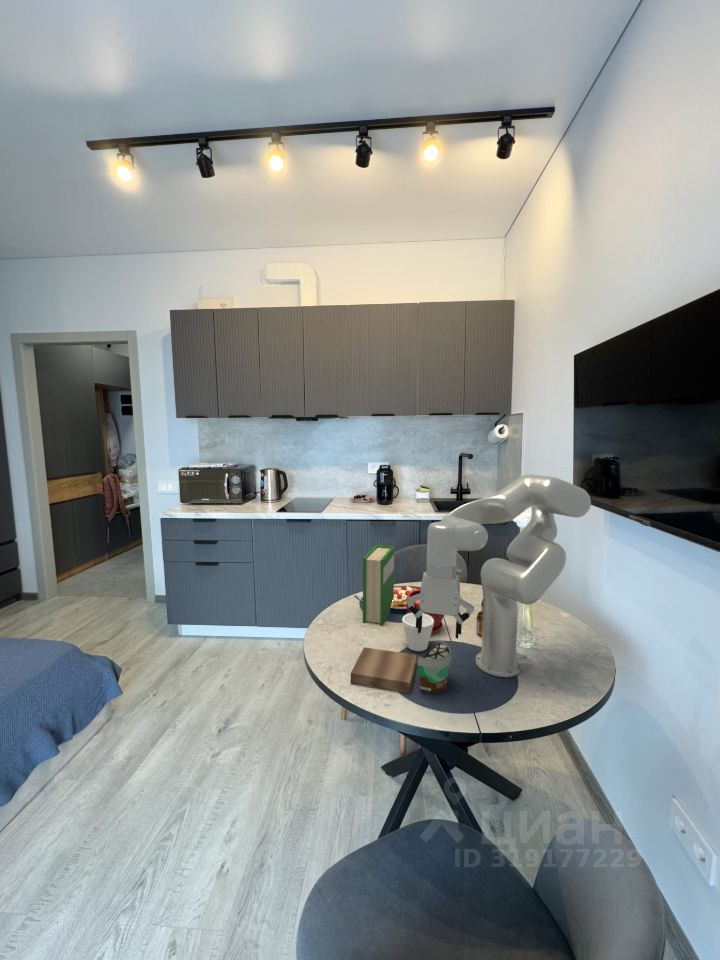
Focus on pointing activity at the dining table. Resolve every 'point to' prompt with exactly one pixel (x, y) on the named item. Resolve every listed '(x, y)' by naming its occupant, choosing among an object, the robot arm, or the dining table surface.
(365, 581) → the hardback book
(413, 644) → the cup
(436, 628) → the plant pot
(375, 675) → the walnut base
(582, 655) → the dining table surface
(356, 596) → the dining table surface
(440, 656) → the food container
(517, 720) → the dining table surface
